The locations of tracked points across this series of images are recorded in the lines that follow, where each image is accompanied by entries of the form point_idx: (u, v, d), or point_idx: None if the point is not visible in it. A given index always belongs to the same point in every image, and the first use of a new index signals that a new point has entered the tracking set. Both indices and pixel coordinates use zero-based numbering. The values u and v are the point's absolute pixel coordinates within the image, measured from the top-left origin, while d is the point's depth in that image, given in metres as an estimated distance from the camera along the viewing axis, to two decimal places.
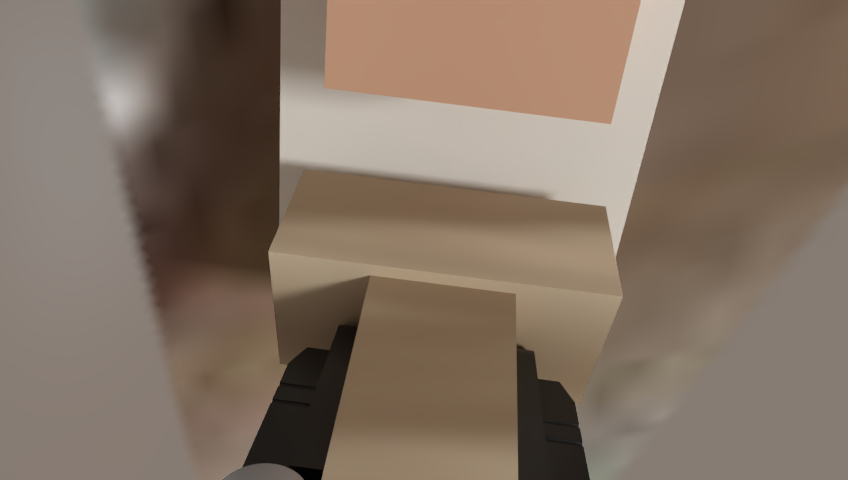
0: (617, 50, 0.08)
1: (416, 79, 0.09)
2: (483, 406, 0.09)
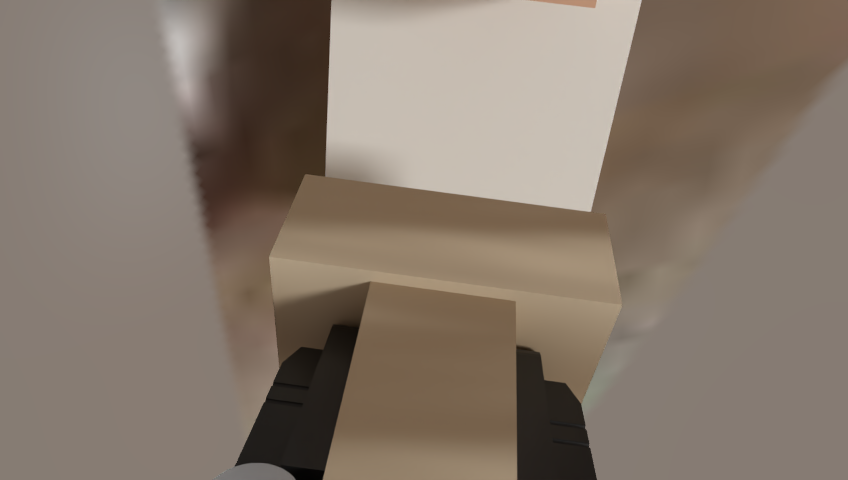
0: None
1: None
2: (482, 413, 0.09)
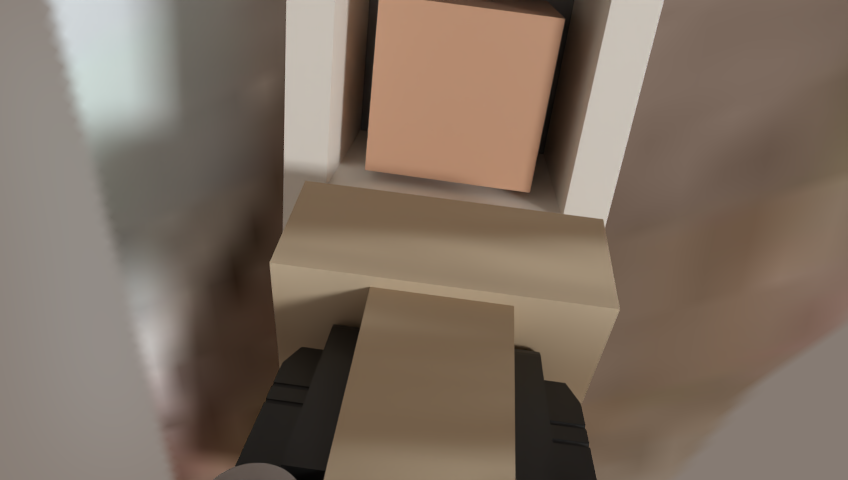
0: (553, 12, 0.14)
1: (439, 0, 0.14)
2: (481, 418, 0.09)
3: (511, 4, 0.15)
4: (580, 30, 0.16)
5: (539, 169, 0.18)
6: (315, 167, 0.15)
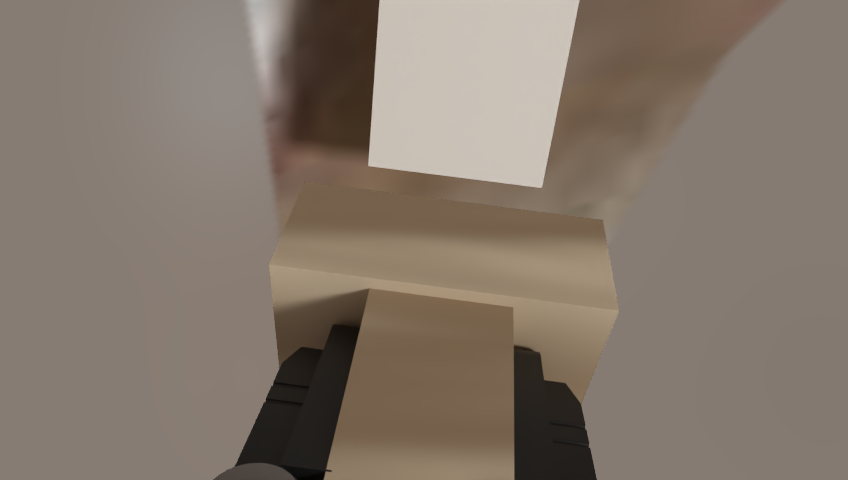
0: None
1: None
2: (480, 420, 0.09)
3: None
4: None
5: None
6: None
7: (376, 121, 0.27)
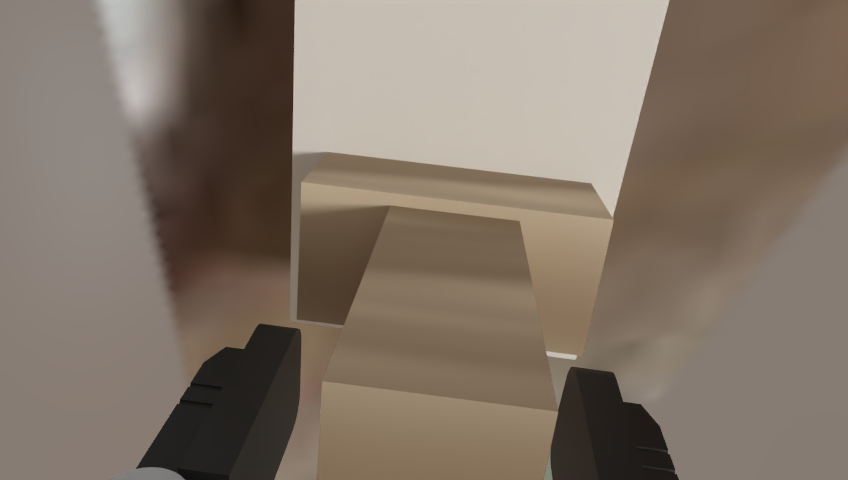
0: None
1: None
2: (498, 267, 0.10)
3: None
4: None
5: None
6: None
7: None
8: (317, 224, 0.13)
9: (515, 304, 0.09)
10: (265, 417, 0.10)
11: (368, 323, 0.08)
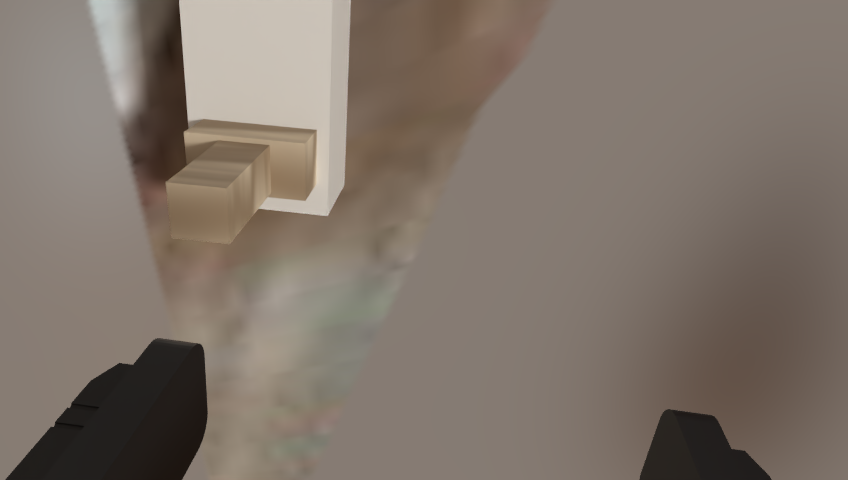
0: None
1: None
2: (244, 159, 0.29)
3: None
4: None
5: None
6: None
7: None
8: (192, 148, 0.32)
9: (238, 168, 0.28)
10: (144, 441, 0.09)
11: (186, 172, 0.27)
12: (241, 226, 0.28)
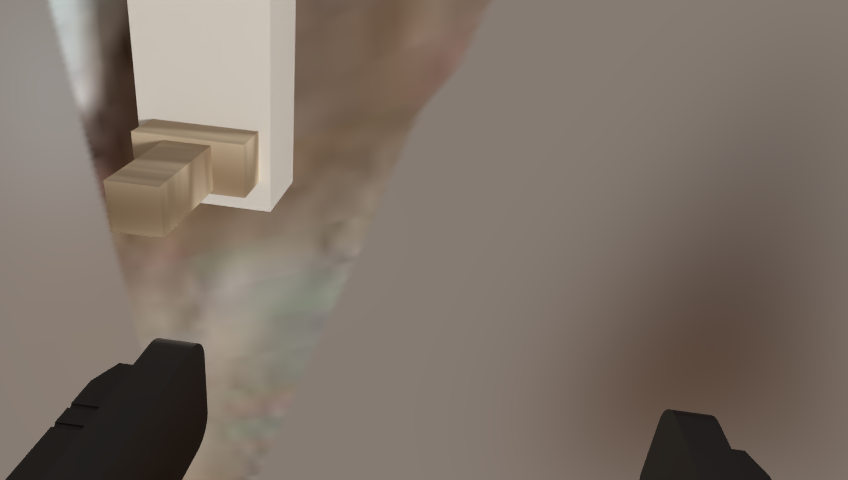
0: None
1: None
2: (182, 159, 0.31)
3: None
4: None
5: None
6: None
7: None
8: (138, 147, 0.34)
9: (175, 168, 0.30)
10: (144, 441, 0.09)
11: (125, 170, 0.29)
12: (177, 221, 0.31)
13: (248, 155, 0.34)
